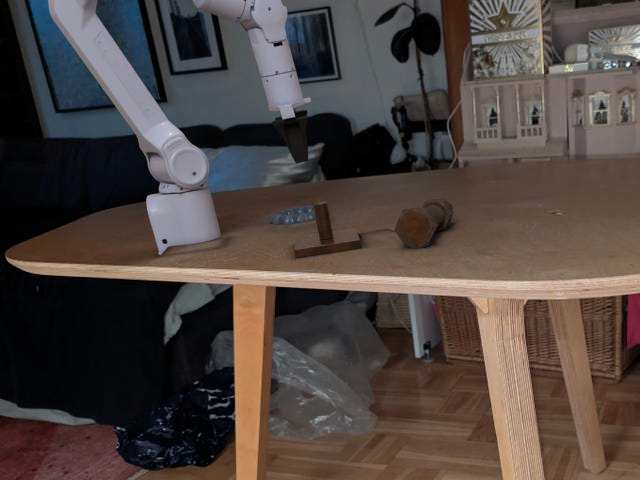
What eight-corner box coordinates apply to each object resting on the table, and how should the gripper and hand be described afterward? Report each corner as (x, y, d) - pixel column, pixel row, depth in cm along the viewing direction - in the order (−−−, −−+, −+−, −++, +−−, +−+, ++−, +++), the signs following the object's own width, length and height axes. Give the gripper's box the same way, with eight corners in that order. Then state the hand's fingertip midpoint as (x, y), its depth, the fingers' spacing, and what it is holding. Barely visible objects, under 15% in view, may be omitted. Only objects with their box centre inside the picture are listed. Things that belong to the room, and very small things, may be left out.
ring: (270, 234, 114) (267, 219, 113) (273, 223, 123) (270, 209, 122) (331, 225, 116) (329, 210, 115) (330, 215, 125) (327, 201, 124)
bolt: (451, 233, 108) (423, 256, 94) (422, 219, 108) (390, 239, 95) (466, 199, 106) (439, 217, 92) (436, 184, 106) (405, 200, 92)
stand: (296, 258, 96) (286, 213, 94) (297, 244, 105) (288, 202, 102) (361, 247, 98) (353, 203, 95) (357, 235, 106) (350, 194, 104)
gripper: (302, 70, 107) (326, 159, 113) (303, 68, 120) (324, 148, 126) (256, 79, 106) (283, 169, 112) (262, 76, 119) (285, 156, 125)
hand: (302, 158), depth 119 cm, fingers open, 7 cm apart
